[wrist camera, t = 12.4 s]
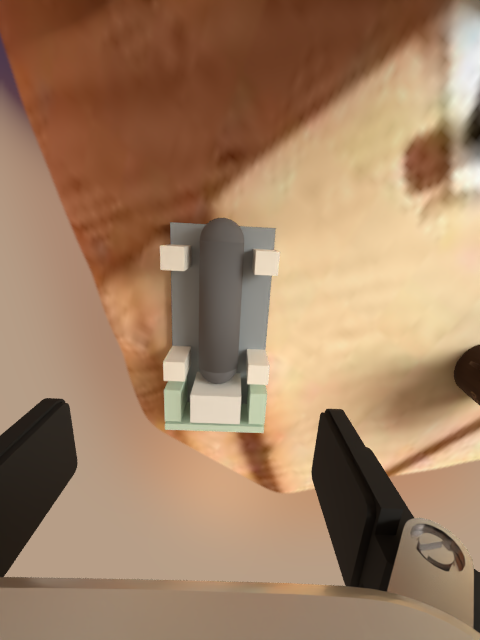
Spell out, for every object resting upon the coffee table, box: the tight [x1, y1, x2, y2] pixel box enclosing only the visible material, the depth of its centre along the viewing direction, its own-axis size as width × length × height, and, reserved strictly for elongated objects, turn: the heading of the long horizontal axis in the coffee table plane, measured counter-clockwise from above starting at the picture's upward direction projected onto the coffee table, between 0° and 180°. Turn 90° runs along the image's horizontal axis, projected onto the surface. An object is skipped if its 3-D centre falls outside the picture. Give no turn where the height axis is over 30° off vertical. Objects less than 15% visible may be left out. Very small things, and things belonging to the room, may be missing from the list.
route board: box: [160, 222, 280, 433], centre depth 28 cm, size 10×20×5 cm, turn 177°
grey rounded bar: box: [190, 218, 244, 424], centre depth 27 cm, size 19×5×5 cm, turn 177°
